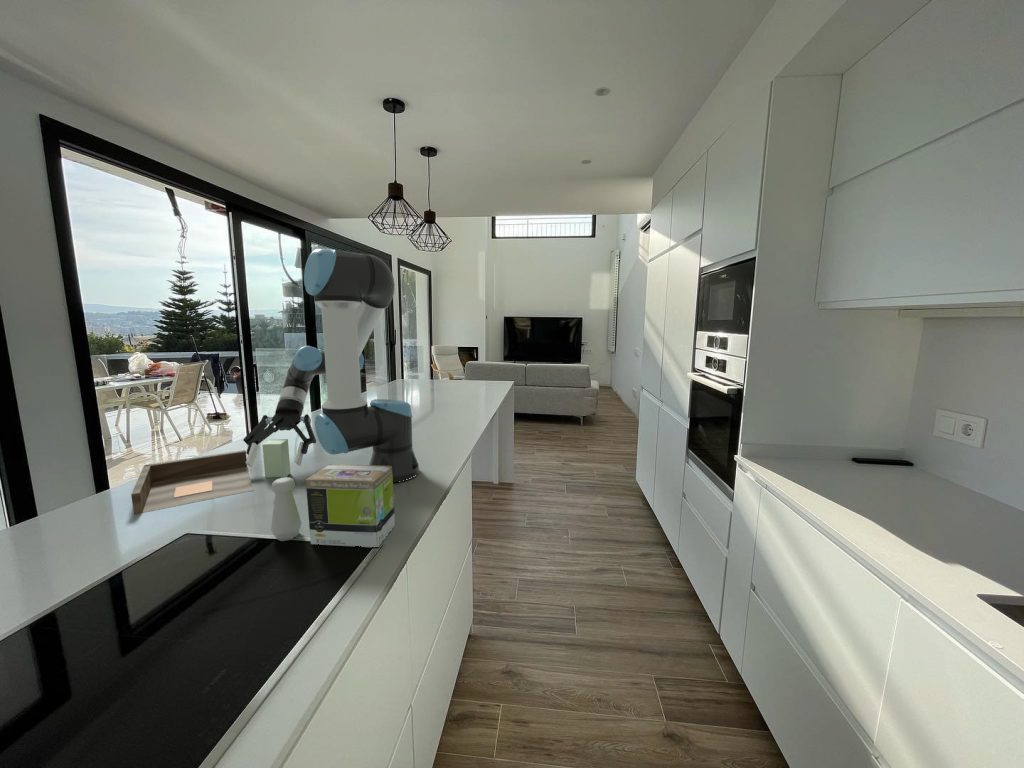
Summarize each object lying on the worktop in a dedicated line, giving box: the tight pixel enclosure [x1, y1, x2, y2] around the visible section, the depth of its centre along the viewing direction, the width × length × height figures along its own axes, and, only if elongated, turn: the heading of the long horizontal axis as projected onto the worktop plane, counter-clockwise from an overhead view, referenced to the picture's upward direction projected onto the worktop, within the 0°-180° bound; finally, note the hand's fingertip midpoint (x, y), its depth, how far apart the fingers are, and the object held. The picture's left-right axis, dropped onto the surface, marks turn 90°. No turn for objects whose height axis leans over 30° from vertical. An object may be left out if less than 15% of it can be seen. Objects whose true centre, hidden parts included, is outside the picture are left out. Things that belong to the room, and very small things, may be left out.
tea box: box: [305, 463, 396, 548], centre depth 89 cm, size 15×10×15 cm
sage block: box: [262, 438, 291, 479], centre depth 122 cm, size 5×5×11 cm
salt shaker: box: [270, 476, 302, 542], centre depth 88 cm, size 6×6×13 cm
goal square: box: [174, 481, 212, 498], centre depth 111 cm, size 8×8×1 cm
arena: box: [130, 449, 255, 515], centre depth 113 cm, size 24×24×6 cm
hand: (273, 464), depth 120 cm, fingers open, 13 cm apart
